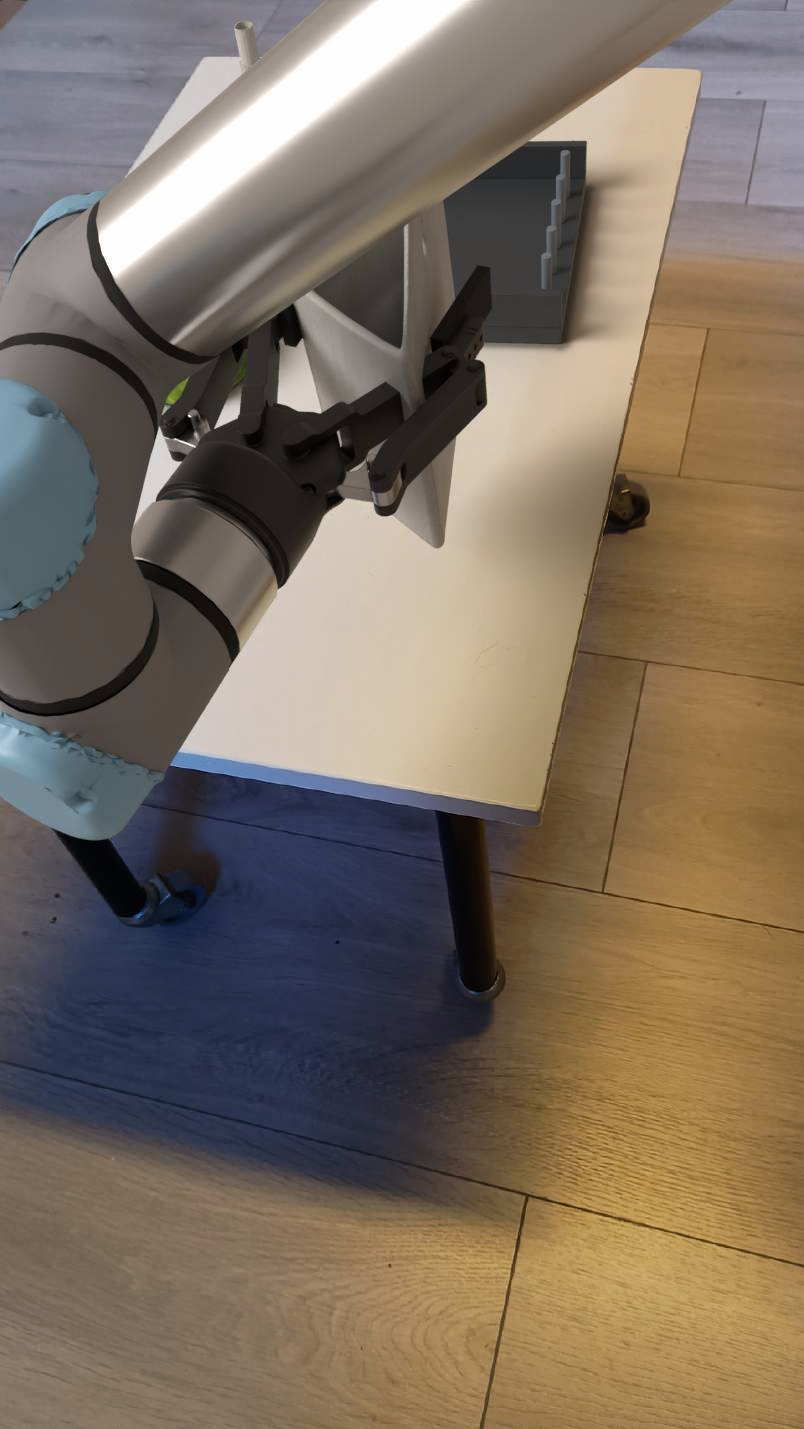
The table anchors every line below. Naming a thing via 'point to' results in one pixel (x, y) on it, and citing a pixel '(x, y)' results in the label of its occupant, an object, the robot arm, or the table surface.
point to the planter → (387, 343)
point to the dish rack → (521, 237)
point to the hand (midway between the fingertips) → (408, 272)
